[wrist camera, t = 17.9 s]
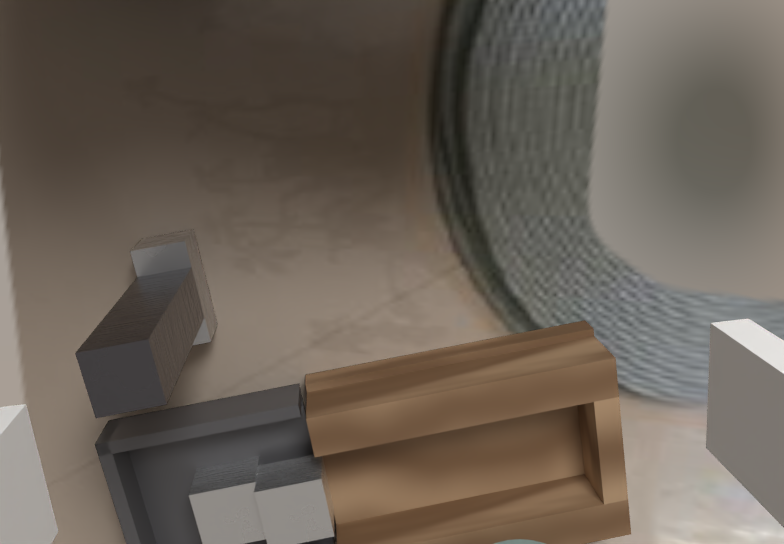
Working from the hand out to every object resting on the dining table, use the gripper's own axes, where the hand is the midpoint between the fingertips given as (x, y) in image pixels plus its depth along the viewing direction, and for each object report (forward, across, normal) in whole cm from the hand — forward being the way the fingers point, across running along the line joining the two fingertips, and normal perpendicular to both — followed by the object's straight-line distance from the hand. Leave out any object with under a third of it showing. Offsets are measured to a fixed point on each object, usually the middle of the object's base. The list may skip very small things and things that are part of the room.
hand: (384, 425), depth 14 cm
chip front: (+29, -5, -19) cm, 35 cm away
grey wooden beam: (+31, -10, -5) cm, 33 cm away
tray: (+31, -10, -19) cm, 37 cm away
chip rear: (+30, -9, -19) cm, 37 cm away
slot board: (+31, +6, -18) cm, 36 cm away
